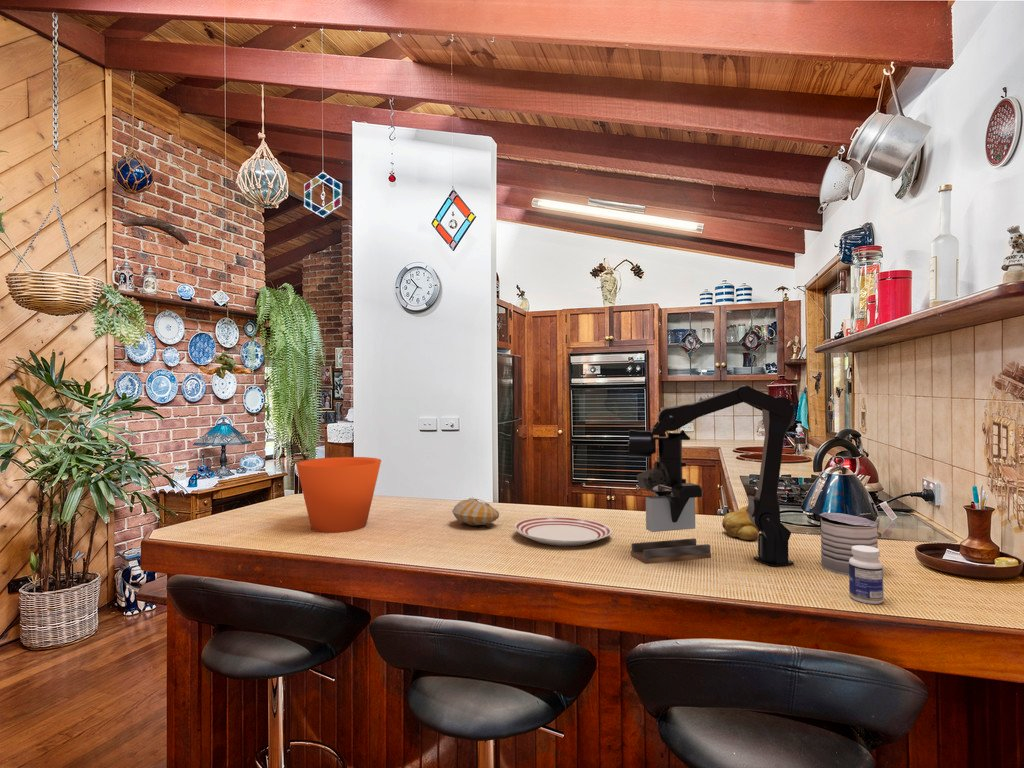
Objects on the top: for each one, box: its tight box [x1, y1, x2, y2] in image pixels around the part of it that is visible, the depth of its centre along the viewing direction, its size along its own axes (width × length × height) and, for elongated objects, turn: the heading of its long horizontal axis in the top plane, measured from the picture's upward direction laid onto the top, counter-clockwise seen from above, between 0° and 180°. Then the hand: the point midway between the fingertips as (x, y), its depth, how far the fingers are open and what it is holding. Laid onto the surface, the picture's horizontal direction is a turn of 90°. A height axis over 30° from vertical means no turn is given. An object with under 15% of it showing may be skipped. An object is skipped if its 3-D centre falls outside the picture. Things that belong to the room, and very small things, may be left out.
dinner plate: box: [513, 516, 613, 547], centre depth 156 cm, size 28×27×3 cm
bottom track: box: [630, 538, 712, 564], centre depth 137 cm, size 18×7×3 cm, turn 106°
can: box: [818, 511, 879, 576], centre depth 127 cm, size 11×11×12 cm
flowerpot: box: [295, 456, 382, 534], centre depth 169 cm, size 25×25×20 cm
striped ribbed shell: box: [451, 497, 500, 527], centre depth 174 cm, size 8×22×15 cm
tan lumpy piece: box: [721, 505, 760, 541], centre depth 157 cm, size 13×10×8 cm
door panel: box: [645, 495, 696, 533], centre depth 137 cm, size 12×3×8 cm, turn 106°
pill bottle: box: [848, 545, 885, 605], centre depth 108 cm, size 6×6×10 cm
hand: (670, 520), depth 137 cm, fingers closed on door panel, 3 cm apart
